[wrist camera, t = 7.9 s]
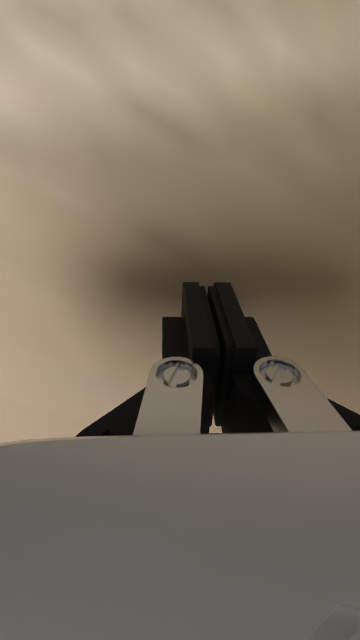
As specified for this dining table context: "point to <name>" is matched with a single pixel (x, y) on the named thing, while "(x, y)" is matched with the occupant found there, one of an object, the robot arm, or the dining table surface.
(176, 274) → the dining table surface
